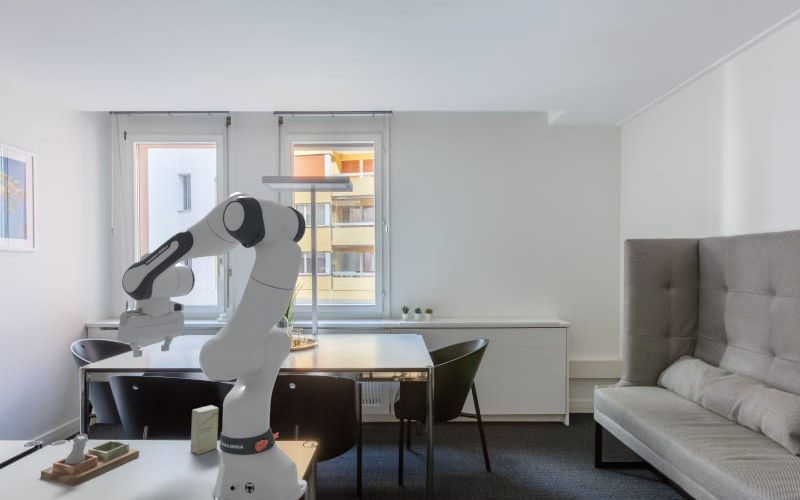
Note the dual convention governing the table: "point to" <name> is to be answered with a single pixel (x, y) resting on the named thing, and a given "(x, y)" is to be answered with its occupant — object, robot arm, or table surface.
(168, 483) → the table surface
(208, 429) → the skincare box
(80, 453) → the rook chess piece
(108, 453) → the board
